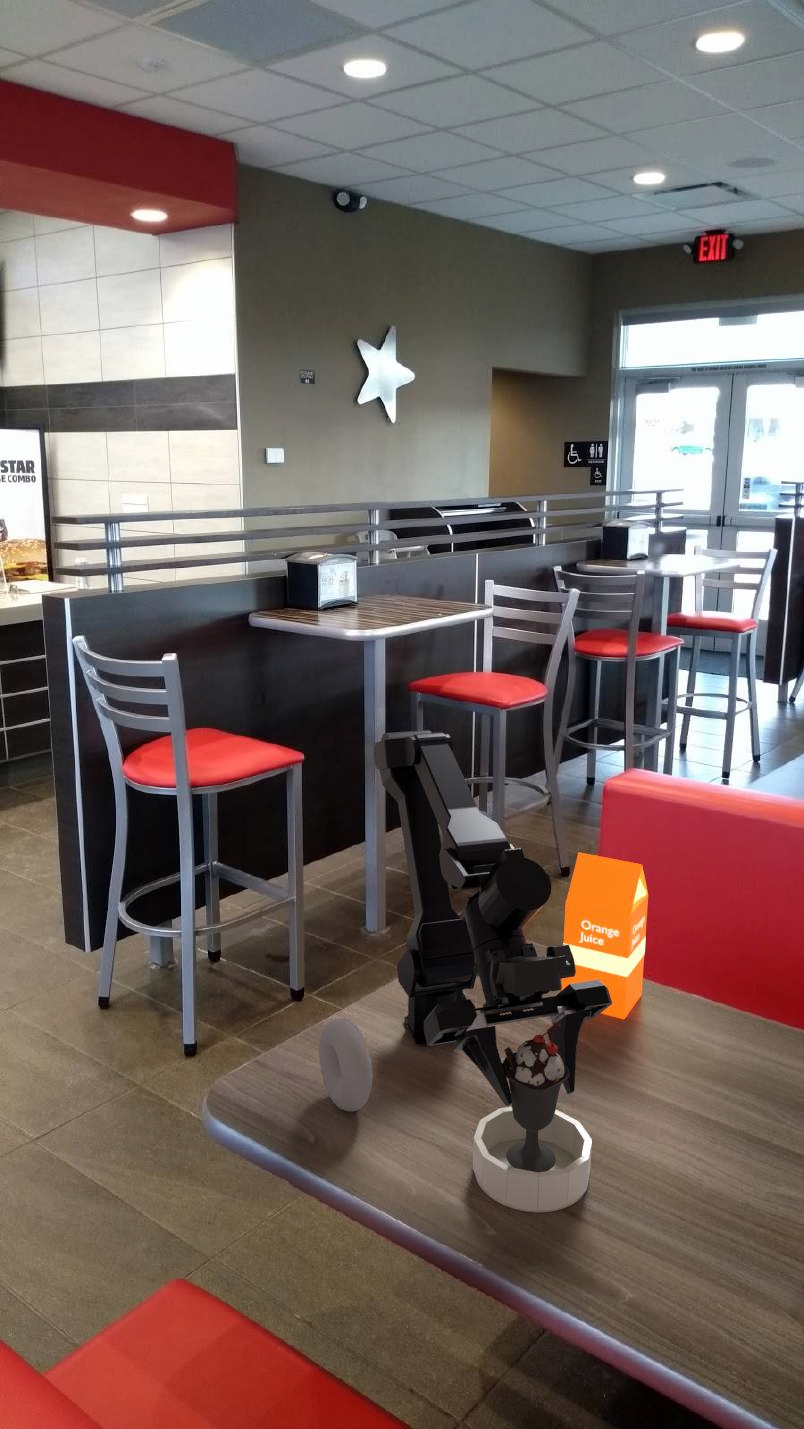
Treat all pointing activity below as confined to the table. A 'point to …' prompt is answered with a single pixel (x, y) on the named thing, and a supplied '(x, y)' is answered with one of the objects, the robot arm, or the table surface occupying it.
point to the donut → (345, 1064)
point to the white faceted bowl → (527, 1186)
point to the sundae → (534, 1098)
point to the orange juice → (608, 928)
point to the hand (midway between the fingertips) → (540, 1098)
